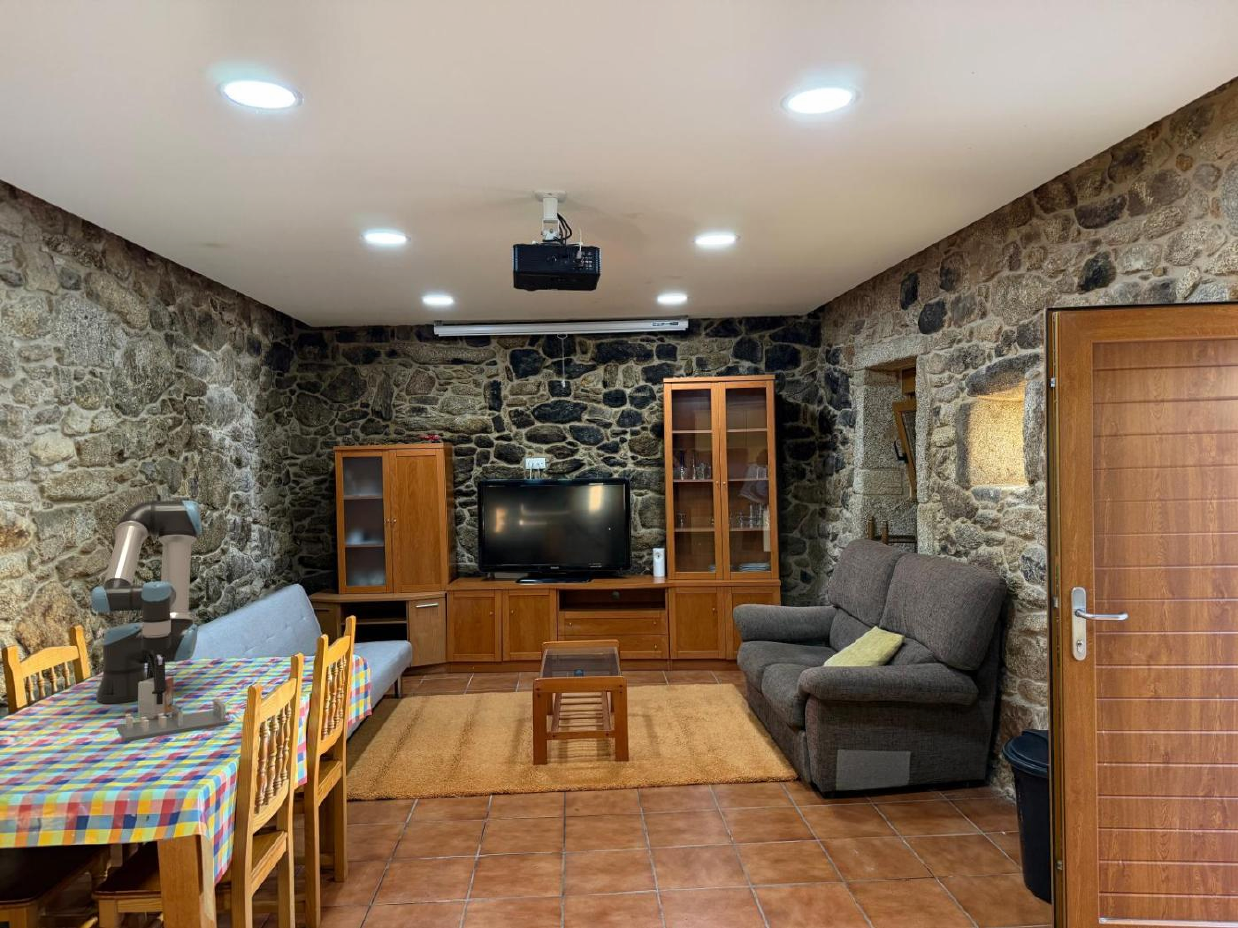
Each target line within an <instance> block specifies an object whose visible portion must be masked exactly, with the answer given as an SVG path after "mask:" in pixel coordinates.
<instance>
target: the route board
mask: <svg viewBox="0 0 1238 928" xmlns="http://www.w3.org/2000/svg"><path fill="white" fill-rule="evenodd" d="M222 726H229V720H228V719H227V718H226V720H222V721H221V720H220V719H219V718H218V717H217V716H216V715H215V714H214V713H213V709H212V710H207V711H201V712H195V713H192V712H191V713H187V714H183V727H177V726H176V724H175V723H174V722H173V721H172V720H171V716H168V717H167V716H165V715H164V714H163V713H162V714H159V715H158V717H157V718H155V719H148V718H146V717H141V718H140V721H136V722H134V717H133V716H132V714H131V713H128V714H125V723H122V724H117V725H116V730H117V731H118V733H119V735H120V736H121V738H122V739H123V742H132V741H137V740H145V739H149V738H156V737H162V736H169V735H174V734H180V733H186V732H192V731H198V730H204V729H209V728H216V727H217V728H218V727H222Z"/></svg>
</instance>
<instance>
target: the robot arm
mask: <svg viewBox="0 0 1238 928" xmlns="http://www.w3.org/2000/svg"><path fill="white" fill-rule="evenodd" d="M202 533H203V526H202V517H201V511H200V507H199V504H198V502H197V501H193V500H146V501H145V500H144V501H142V502H139V503H137V504H135V505H133V506H132V507H130V508H129V509H128V510H126V511H125V512H124V513H123V514H122V515H121V517H120V518H119V519H118V520H117V523H116V525H115V529H114V535H115V542H114V546H113V549H112V553H111V557H110V560H109V565H108V568H107V570H106V575H105V578H104V582H103V585H101V586H96V587H94V588H93V589H92V592H91V601H90V602H91V603H90V604H91V609H92V610H93V611H94V612H96V613H97V612H98V613H100V612H102V613H111V612H112V613H113V612H130V611H131V612H132V611H141V621H140V622H131V623H126V624H122V625H117V626H116V625H115V626H114V627H110V628H108V629H106V631H105V632H104V633H103V642H102V646H103V647H102V649H103V652H102V654H103V655H102V657H103V658H102V661H103V662H102V663H103V664H102V667H103V669H102V670H103V671H102V678H101V680H100V684H99V687H98V688H97V692H96V702H98V703H100V704H101V703H102V704H121V703H122V704H123V703H130V702H136V701H137V702H138V683H139V682H142V681H145V680H148V679H151V678H153V677H154V690H155V691H153V692H152V694H154V716H157V715H159V714H162V713H163V714H164V692H166V680H165V676H166V663H177V662H185V661H189V660H190V659H192V657H193V656H194V652H195V650H196V645H197V640H198V631H199V629H198V625H197V624H195V623H194V618H192V617H191V616H190V615H189V608H190V607H189V605H190V585H191V583H190V582H191V581H190V578H191V559H192V558H191V557H192V544H194V543H195V542H196V541H197V538H198V537H197V536H199V535H201V534H202ZM148 536H157V540H158V541H159V543H161V545H162V554H161V555H162V556H161V574H160V581H149V582H145V583H144V584H142V585H141V584H140V585H138V584H137V585H134V584H133V582H134V579H135V574H136V570H137V566H138V561H139V558H140V554H141V549H142V545H143V542H145V541H146V539H147V538H148ZM145 665H146V666H145ZM145 668H146V669H145ZM160 687H162V688H160Z"/></svg>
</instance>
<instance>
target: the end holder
mask: <svg viewBox="0 0 1238 928" xmlns="http://www.w3.org/2000/svg"><path fill="white" fill-rule="evenodd" d="M212 700H213V701H212V705H213V706H212V708H213V709H212V710H213V713H214V714H215V715H216V716H217V717H218V718H219V719H220V720H221V721H222V720H226V719H227V718H226V714H227V712H226V709H227V708H226V704H225V703H224V702H222V701H221V700H220V699H219V698H214V699H212ZM170 715H171V716H170V717H171V720H172V721H173V722H174V723H175V724H176V726H177V727H183V715H184V712H183V711H182V710H181V709H180V707H178V705H177V704H173V705H171V712H170Z"/></svg>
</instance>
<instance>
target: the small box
mask: <svg viewBox="0 0 1238 928" xmlns="http://www.w3.org/2000/svg"><path fill="white" fill-rule="evenodd" d="M165 680H166V692H164V716H165V715H168V714H171V705H174V676H169V675H168V676H166V675H165ZM160 688H162V687H160ZM153 691H155V690H154V677H153V678H151V679H148V680H145V681H142V682H139V683H138V700H137V718H139V719H141V717H146V718H147V720H153V719H158V715H157V716H154V694H152V692H153Z"/></svg>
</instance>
